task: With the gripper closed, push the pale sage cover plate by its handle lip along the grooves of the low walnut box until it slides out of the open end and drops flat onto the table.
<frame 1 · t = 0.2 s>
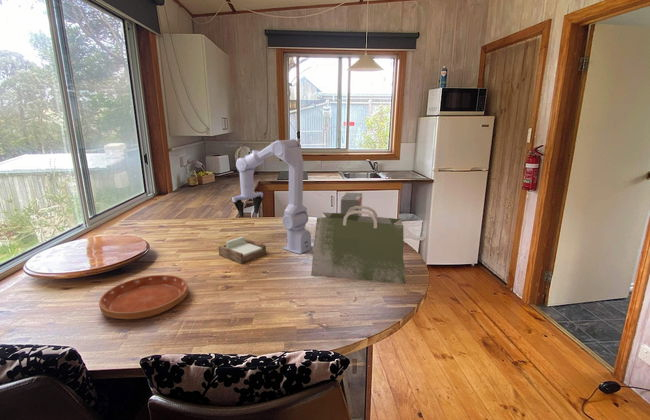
hand: (249, 214, 153), 10 cm above the table, tool pointing down, fingers open, 7 cm apart
cover plate: (243, 249, 133), point 2 cm above the table, touching groove box
hard drive box: (351, 240, 150), on the table
grocery bag: (358, 271, 119), on the table
groove box: (242, 254, 134), on the table
saucer: (147, 303, 100), on the table
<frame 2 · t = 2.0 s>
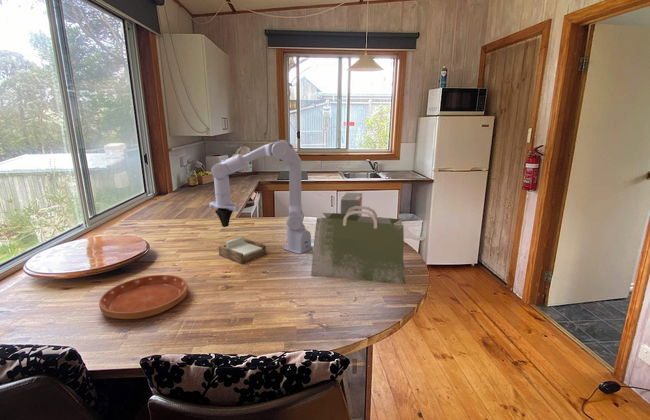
hand: (225, 226, 138), 10 cm above the table, tool pointing down, fingers closed
nothing on the table moved.
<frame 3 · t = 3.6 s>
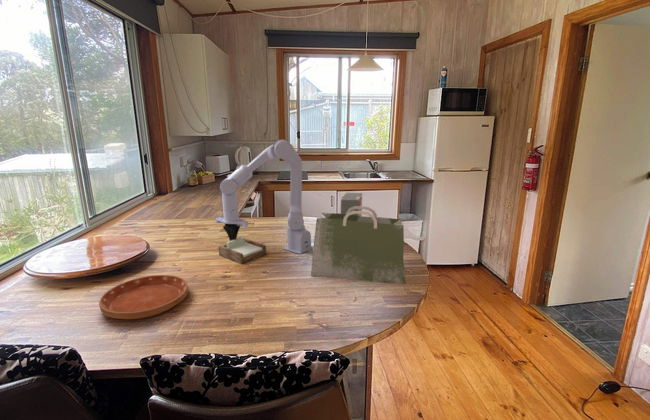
hand: (233, 241, 137), 4 cm above the table, tool pointing down, fingers closed
cover plate: (244, 250, 133), point 2 cm above the table, touching gripper, groove box
everything else where it was.
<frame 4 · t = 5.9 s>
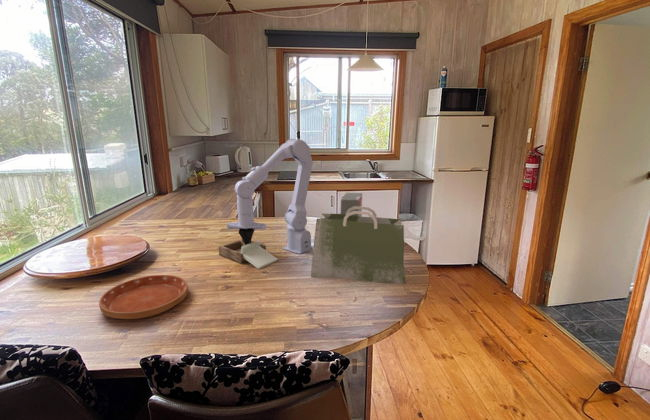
hand: (248, 246, 131), 4 cm above the table, tool pointing down, fingers closed
cover plate: (258, 257, 128), point 1 cm above the table, tilted 15°, touching gripper
everything else where it was.
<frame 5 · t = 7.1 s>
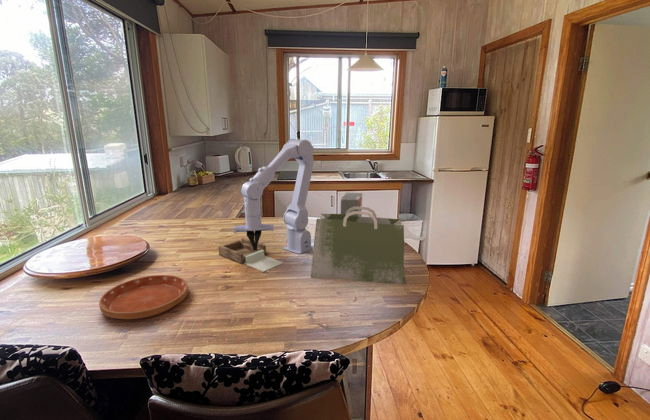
hand: (255, 249, 128), 4 cm above the table, tool pointing down, fingers closed
cover plate: (263, 264, 126), on the table
everything else where it was.
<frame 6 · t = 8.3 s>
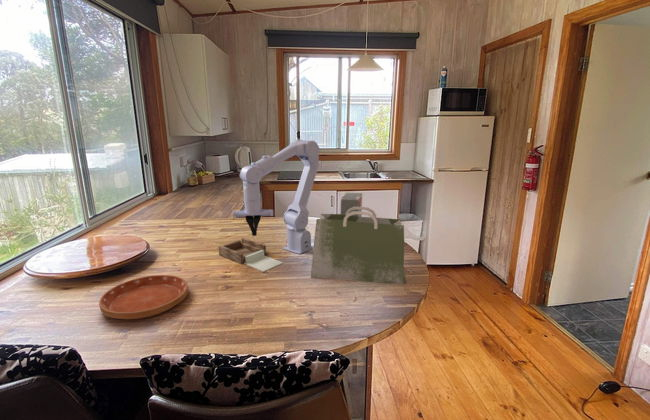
hand: (254, 234, 127), 10 cm above the table, tool pointing down, fingers closed
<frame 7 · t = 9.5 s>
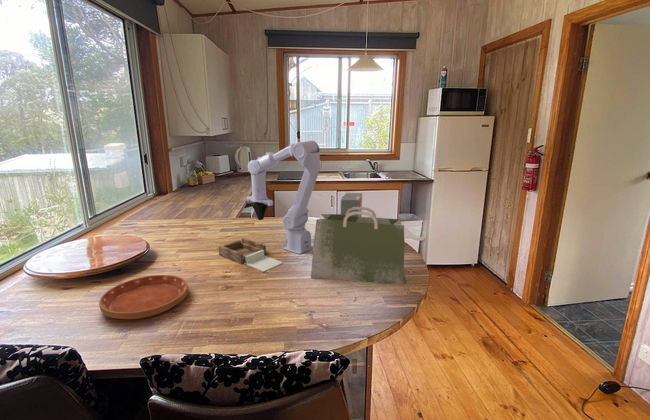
hand: (260, 219, 147), 10 cm above the table, tool pointing down, fingers closed
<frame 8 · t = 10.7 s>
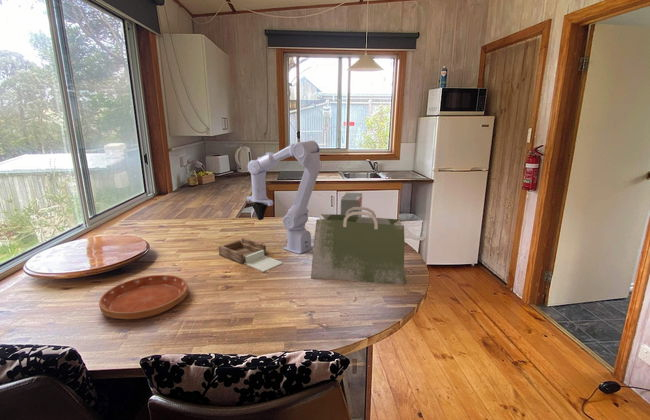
hand: (260, 219, 147), 10 cm above the table, tool pointing down, fingers closed
at the end: cover plate inside the target area (1.7 cm from its centre), on the table; cover plate tilted 0°; the gripper is holding nothing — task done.
